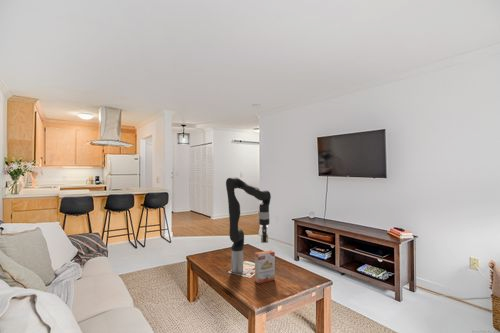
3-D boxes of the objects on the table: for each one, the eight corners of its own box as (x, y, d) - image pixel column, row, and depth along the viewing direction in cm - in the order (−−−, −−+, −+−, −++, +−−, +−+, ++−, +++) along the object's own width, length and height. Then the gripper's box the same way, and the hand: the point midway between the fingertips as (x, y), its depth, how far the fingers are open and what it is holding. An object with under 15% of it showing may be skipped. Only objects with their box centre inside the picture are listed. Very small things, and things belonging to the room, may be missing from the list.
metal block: (261, 242, 190) (261, 234, 190) (261, 240, 195) (261, 232, 195) (268, 242, 190) (268, 234, 190) (267, 240, 195) (267, 232, 195)
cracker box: (258, 284, 186) (258, 254, 186) (254, 281, 192) (254, 252, 192) (275, 280, 193) (275, 251, 193) (271, 277, 198) (270, 249, 198)
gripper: (259, 215, 200) (259, 238, 200) (259, 219, 185) (259, 243, 185) (269, 215, 199) (269, 238, 199) (269, 219, 185) (269, 243, 185)
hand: (264, 240), depth 192 cm, fingers closed on metal block, 5 cm apart
